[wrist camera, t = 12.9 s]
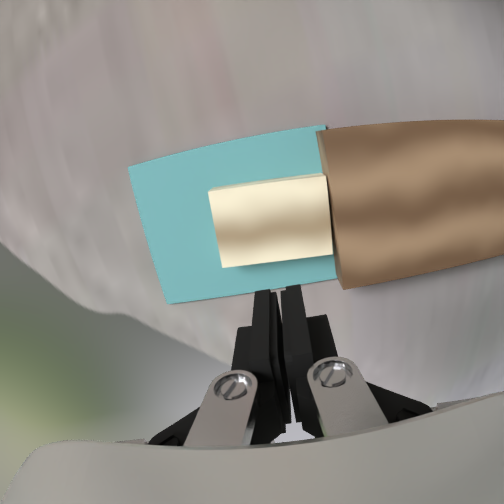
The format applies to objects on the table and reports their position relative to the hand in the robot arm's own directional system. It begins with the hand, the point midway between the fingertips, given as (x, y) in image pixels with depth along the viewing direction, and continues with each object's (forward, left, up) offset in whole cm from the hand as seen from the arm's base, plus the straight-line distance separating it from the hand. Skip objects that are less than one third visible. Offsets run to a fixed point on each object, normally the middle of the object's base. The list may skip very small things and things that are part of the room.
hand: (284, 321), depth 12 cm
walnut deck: (0, +17, -19) cm, 26 cm away
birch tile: (+1, 0, -19) cm, 19 cm away
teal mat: (0, -4, -19) cm, 20 cm away
